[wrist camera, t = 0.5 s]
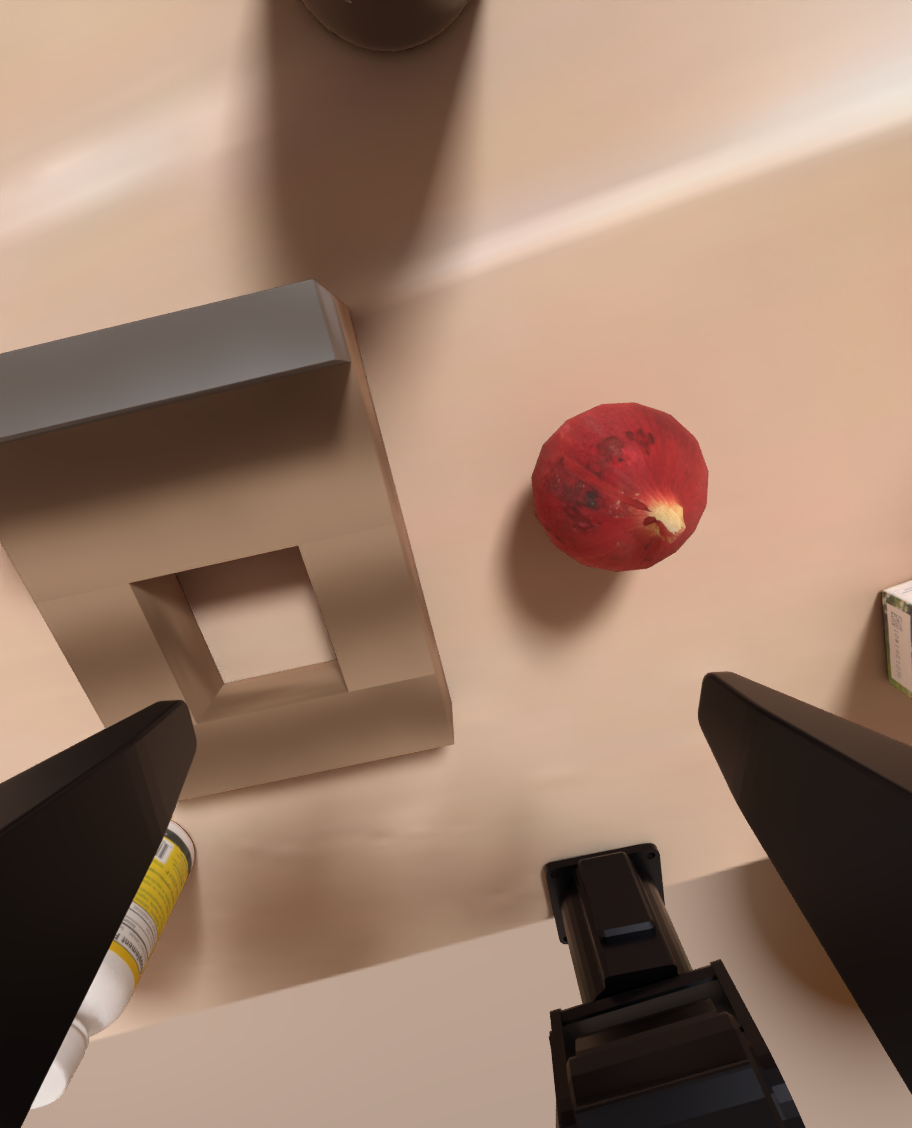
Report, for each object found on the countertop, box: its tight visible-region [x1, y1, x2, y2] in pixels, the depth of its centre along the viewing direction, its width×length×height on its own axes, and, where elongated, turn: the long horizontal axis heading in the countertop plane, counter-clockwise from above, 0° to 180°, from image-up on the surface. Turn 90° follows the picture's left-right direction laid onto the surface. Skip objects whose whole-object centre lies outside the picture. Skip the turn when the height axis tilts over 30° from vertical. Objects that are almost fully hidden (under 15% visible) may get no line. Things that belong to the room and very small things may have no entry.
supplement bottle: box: [30, 820, 194, 1109], centre depth 23 cm, size 5×5×10 cm
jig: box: [0, 279, 454, 801], centre depth 20 cm, size 18×14×6 cm
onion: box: [532, 403, 708, 572], centre depth 18 cm, size 6×6×8 cm
